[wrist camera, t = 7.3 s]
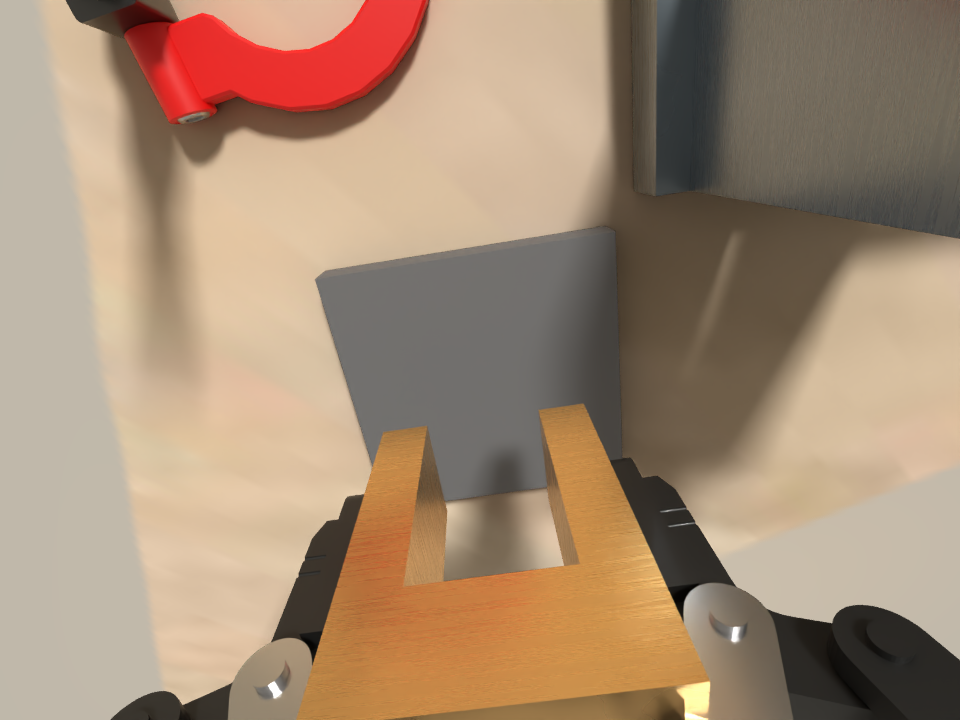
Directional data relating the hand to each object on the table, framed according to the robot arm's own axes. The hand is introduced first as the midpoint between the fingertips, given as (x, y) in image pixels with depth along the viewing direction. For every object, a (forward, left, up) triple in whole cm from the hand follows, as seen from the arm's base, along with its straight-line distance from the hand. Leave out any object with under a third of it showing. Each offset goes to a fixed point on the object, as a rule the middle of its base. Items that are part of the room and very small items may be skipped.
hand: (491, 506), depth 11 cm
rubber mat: (0, 0, -8) cm, 8 cm away
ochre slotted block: (0, 0, -2) cm, 2 cm away
